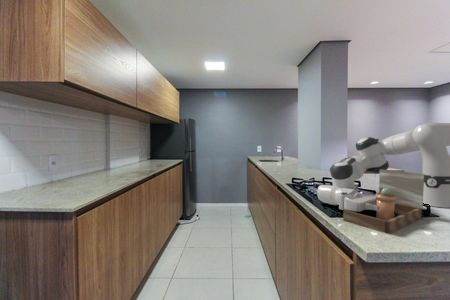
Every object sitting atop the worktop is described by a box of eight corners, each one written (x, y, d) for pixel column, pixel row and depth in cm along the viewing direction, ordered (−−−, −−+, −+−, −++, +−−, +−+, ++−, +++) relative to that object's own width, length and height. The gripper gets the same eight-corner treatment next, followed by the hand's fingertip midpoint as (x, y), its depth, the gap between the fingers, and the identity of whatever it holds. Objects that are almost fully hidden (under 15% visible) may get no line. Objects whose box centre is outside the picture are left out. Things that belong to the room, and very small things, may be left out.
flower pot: (380, 216, 105) (380, 185, 104) (398, 220, 99) (399, 188, 98) (371, 219, 101) (372, 187, 100) (390, 224, 95) (391, 191, 94)
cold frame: (379, 208, 116) (380, 169, 114) (422, 217, 102) (424, 173, 101) (343, 220, 100) (344, 175, 99) (388, 233, 86) (390, 181, 85)
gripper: (362, 202, 117) (396, 209, 106) (337, 209, 106) (371, 218, 94) (363, 189, 117) (396, 194, 105) (337, 195, 106) (371, 202, 94)
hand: (384, 206), depth 100 cm, fingers open, 8 cm apart
